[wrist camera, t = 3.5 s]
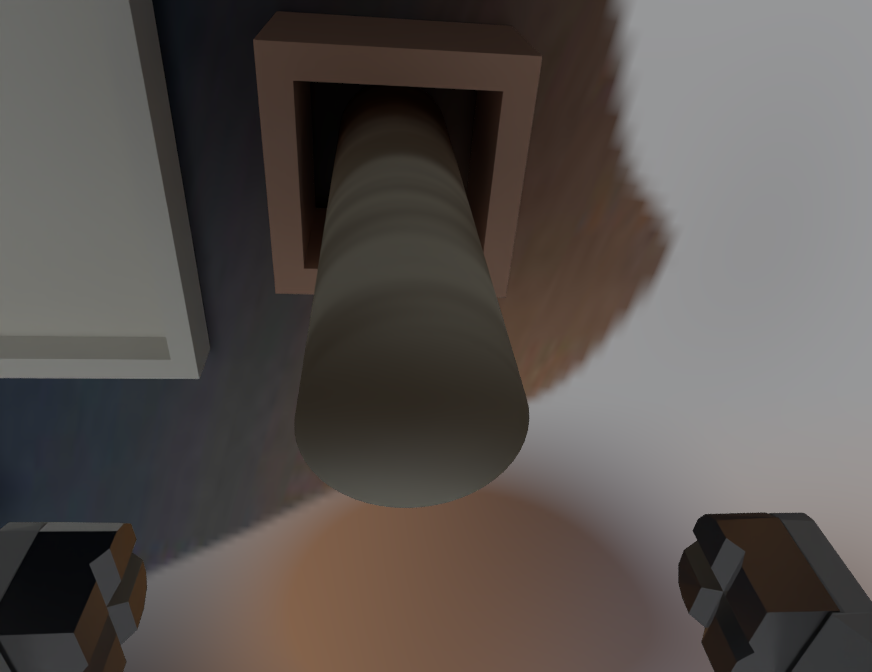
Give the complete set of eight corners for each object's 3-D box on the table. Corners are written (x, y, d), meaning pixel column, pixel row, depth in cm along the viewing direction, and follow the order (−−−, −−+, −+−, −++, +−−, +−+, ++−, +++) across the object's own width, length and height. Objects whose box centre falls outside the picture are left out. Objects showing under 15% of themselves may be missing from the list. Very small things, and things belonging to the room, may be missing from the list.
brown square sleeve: (276, 11, 21) (253, 40, 17) (511, 25, 22) (542, 56, 18) (291, 229, 26) (275, 293, 22) (486, 235, 27) (505, 297, 22)
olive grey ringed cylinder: (338, 76, 23) (286, 332, 10) (449, 82, 23) (547, 335, 10) (340, 184, 25) (300, 509, 12) (442, 188, 25) (512, 505, 12)
